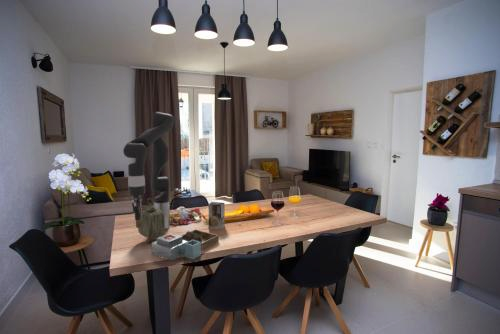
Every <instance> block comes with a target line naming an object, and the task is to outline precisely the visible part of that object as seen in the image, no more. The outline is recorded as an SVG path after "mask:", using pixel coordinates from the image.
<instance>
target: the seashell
mask: <svg viewBox="0 0 500 334" xmlns="http://www.w3.org/2000/svg"><path fill="white" fill-rule="evenodd" d="M185 234H186V239H185V240H186V241H191V240H195V241H199V242H201V243H203V238H201V236H200V235H198V234H197V233H193V232H191V231H187V232H186V233H185Z"/></svg>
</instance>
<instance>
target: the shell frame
mask: <svg viewBox="0 0 500 334" xmlns="http://www.w3.org/2000/svg"><path fill="white" fill-rule="evenodd" d="M190 232H193V233H197V234H198V235H200V236H201V238H202V239H205V241H202V243H201V252H202V250H203V251H205V250H206V249H208V248H210V247H212V246H214V245H216V244H218V243H219V240H220V239H219V235H218V234H216V233H213V232H212V233H211V232H208V231H203V230H199V229H194V230H192V231H191V230H190ZM180 236H183V240H184V241H186V240H185V239H186V233H184V234H181V235H180ZM188 242H189V241H188Z"/></svg>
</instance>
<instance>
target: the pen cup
mask: <svg viewBox="0 0 500 334" xmlns="http://www.w3.org/2000/svg"><path fill="white" fill-rule="evenodd" d="M200 256H202V251H201V242H199V241H195V240H191V241H189V242H186V243H185V254H184V257H185V258H187V259H191V260H195V259H197V258H199V257H200Z"/></svg>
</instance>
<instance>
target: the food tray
mask: <svg viewBox="0 0 500 334" xmlns="http://www.w3.org/2000/svg"><path fill="white" fill-rule="evenodd" d="M169 213H170V225H176V226H177V225H180V226H181V225H189V224H192V223H197V222H201V221H202V219H203V218H202V217H203V216H202V212H201V209H200V208H199V207H195V208H191V209H190V210H189V209H188V208H185V207H184V206H179V207H177V208H176V210H175V209H172V210H171V209H170V208H169Z"/></svg>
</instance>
